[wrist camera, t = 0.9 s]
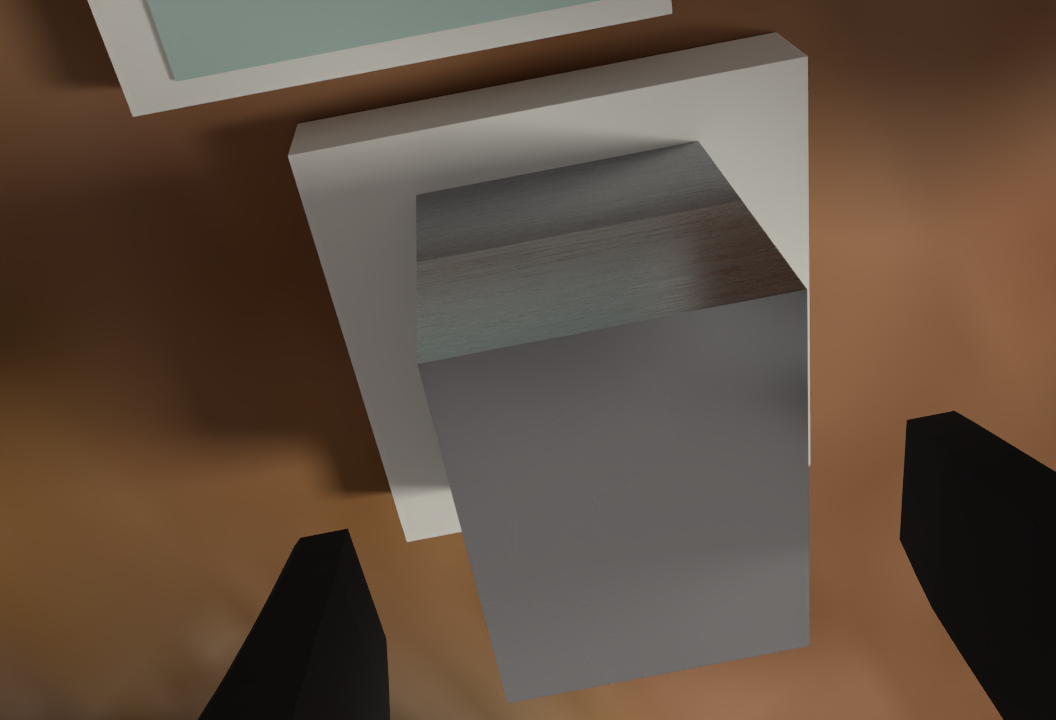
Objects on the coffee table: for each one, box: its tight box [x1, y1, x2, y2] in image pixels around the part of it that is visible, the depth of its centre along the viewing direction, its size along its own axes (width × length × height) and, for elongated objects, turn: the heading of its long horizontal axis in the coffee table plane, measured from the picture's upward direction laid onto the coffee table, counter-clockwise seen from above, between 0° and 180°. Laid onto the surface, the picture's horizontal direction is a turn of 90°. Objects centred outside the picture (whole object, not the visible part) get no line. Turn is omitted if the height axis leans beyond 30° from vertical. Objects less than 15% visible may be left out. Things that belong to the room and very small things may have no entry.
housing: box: [416, 141, 810, 703], centre depth 15 cm, size 4×6×5 cm
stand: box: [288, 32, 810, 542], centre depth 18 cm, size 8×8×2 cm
